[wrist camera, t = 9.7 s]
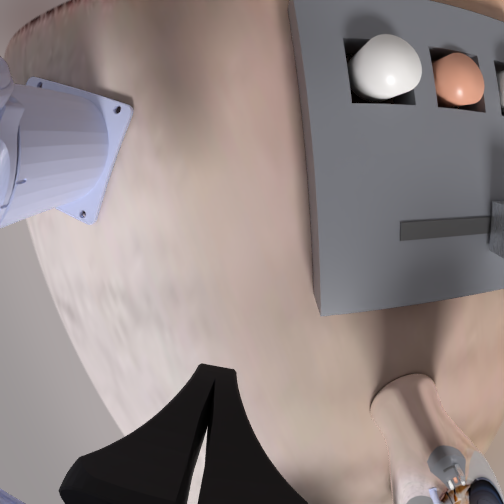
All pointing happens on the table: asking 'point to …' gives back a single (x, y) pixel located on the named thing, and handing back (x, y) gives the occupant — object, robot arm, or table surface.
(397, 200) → the control panel
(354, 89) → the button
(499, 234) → the slider knob
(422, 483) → the beer glass
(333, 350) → the table surface
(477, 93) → the middle button
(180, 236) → the table surface
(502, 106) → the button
